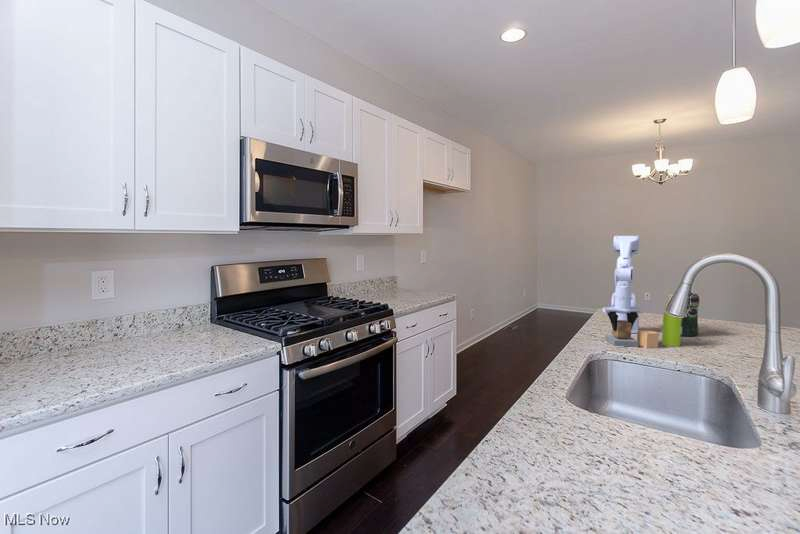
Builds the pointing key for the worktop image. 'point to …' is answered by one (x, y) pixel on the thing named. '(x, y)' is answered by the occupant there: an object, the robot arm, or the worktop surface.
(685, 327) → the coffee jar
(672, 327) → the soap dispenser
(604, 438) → the worktop surface
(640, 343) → the orange faceted block
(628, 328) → the walnut cube
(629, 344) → the gray slab
